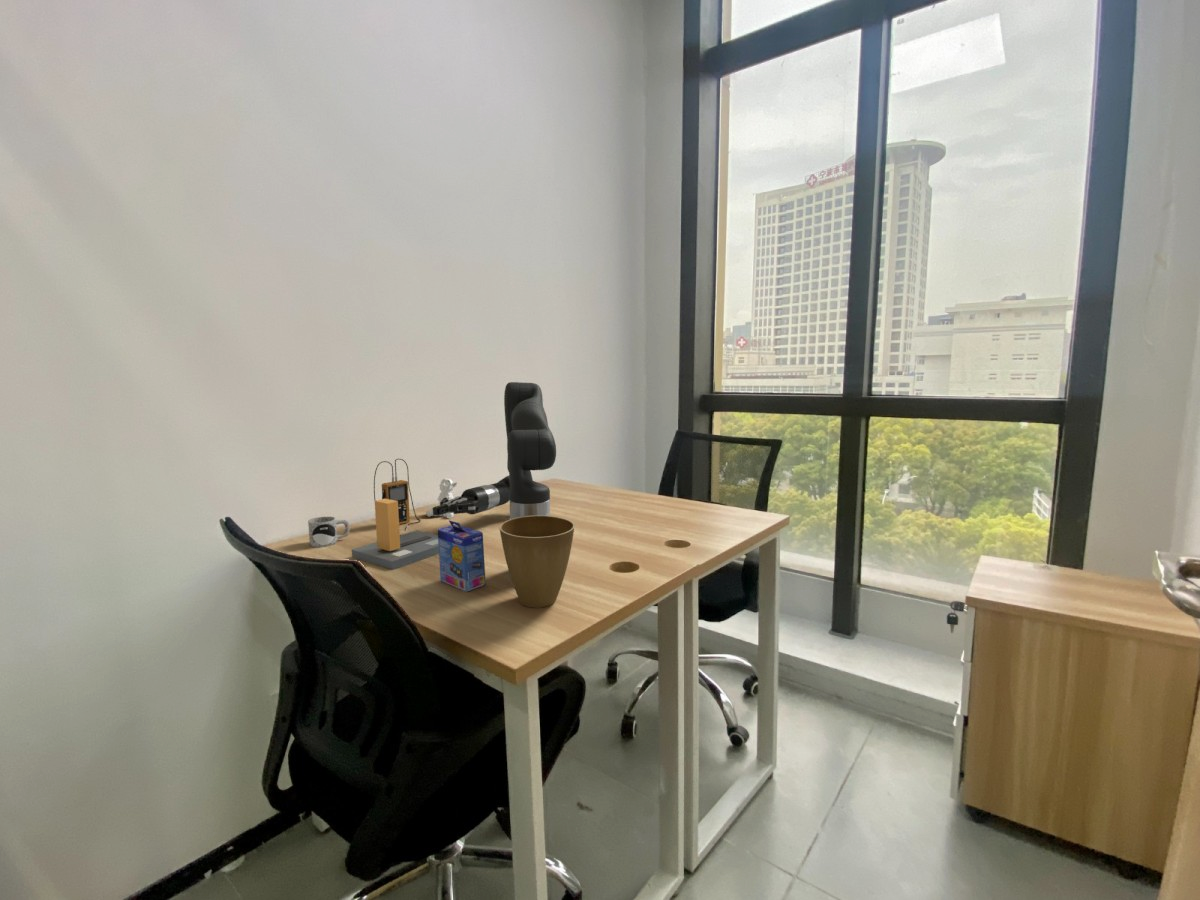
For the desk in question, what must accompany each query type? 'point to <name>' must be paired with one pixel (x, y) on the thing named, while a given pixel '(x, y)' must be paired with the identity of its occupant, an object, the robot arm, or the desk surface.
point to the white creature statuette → (444, 496)
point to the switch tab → (387, 524)
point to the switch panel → (400, 550)
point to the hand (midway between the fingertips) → (434, 511)
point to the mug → (325, 531)
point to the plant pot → (537, 556)
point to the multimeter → (398, 495)
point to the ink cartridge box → (461, 557)
